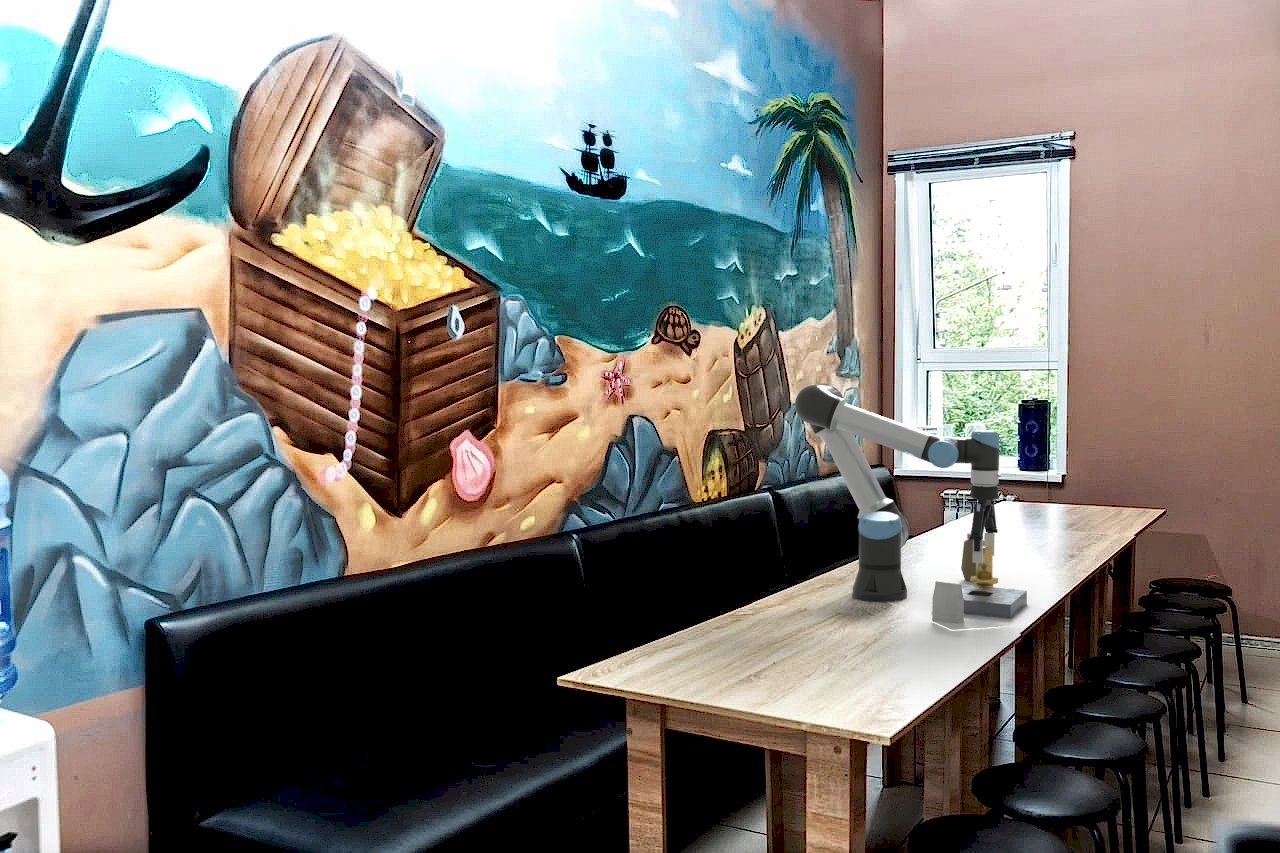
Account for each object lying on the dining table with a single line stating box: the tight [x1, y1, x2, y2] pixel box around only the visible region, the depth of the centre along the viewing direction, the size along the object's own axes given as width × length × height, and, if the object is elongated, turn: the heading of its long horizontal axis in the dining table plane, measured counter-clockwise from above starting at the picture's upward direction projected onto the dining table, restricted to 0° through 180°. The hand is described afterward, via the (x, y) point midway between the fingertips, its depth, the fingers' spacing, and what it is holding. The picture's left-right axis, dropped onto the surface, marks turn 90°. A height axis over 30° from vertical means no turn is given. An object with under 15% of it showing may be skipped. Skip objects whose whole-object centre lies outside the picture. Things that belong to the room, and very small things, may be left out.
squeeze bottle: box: [960, 528, 984, 583], centre depth 329 cm, size 8×8×18 cm
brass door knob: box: [969, 546, 999, 587], centre depth 310 cm, size 8×8×14 cm
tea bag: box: [931, 580, 965, 624], centre depth 277 cm, size 4×7×10 cm, turn 51°
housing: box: [960, 583, 1028, 620], centre depth 292 cm, size 20×20×4 cm
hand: (983, 559), depth 310 cm, fingers open, 13 cm apart
